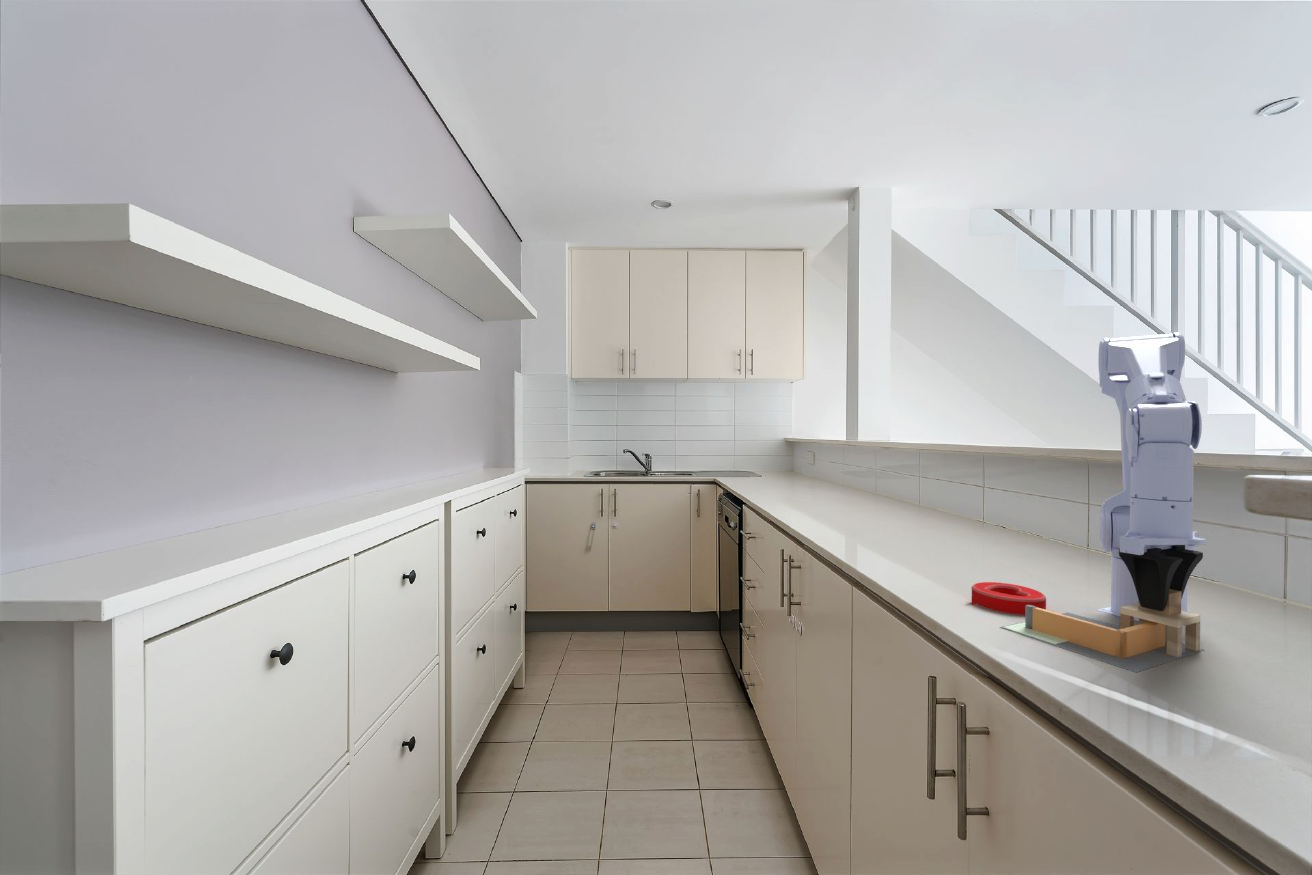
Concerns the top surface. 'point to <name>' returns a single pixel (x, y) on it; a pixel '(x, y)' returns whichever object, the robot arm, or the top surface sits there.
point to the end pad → (1035, 634)
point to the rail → (1098, 633)
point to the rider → (1167, 622)
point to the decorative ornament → (1006, 597)
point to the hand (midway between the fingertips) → (1159, 606)
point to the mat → (1129, 663)
